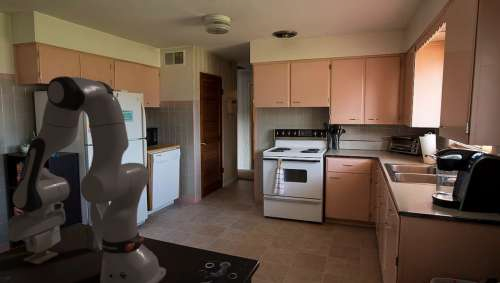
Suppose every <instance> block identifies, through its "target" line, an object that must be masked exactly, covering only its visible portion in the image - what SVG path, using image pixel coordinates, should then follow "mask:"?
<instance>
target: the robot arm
mask: <svg viewBox="0 0 500 283" xmlns="http://www.w3.org/2000/svg"><path fill="white" fill-rule="evenodd" d="M46 96H47V101H46V103H45V107H44V111H43V115H42V123H41V128H40V130H39V132H38V134H37V136H36V137H35V138H34V139H33V140H32V141H31V142H30V144H29V146H28V148H27V151H26V154H25V158H24V161H23V162H24V163H23V165H22V168H21V172H20V176H19V179H18V182H17V185H16V186H15V189H14V190H13V193H12V197H11V200H12V204H13V206H14V207H15V208H16V209H18V211H21V212H22V213H19V214H16V215H13V216H11V217H10V218H9V219H8V220H7V239H8V240H9V241H10V242H14V243H16V242H19V241H21V240H22V241H23V242H24V243H25V247H26V249H27V248H30V247H32V246H33V242H30V241H29V239H30V236H32V235H35V234H38V233H40V232H43V231H46V230H49V231H51V232H52V234H53V232H54V230H55V228H54V227H56V226H59V227H60V226H61V225H64V224H65V223H66V212H65V209H64V203H63V202H62V201H64V200H66V199H68V198H69V197H70V195H71V184H70V182H69V181H68V180H67V178H65V177H62V176H58V175H55V174H53V173H51V172H50V170H48V168H47V167H44V166H45V163H46V162H47V161H48V159H49V158H50V157H52V156H53V155H55V154H56V153H58V152H60V151H62V150H64V149H66V148H67V147H70V146H71V145H72V144H73V143H74V142H75V141H76V139H77V137H78V134H79V132H78V131H79V125H80V124H79V123H80V116H81V113H83V112H84V113H85V114H86V116H87V119H88V120H87V121H88V126H89V131H90V137H91V144H92V159H91V163H90V166H89V168H88V171H87V173H86V175H85V176H83V178H82V180H81V182H80V188H79V189H80V194H81V196H82V197H83V198H84V200H85V201H86V202H88V203H89V204H90V203H92V204H98V203H106V202H109V207H108V208H107V210H106V211H105V212H104V214H103V217H102V227H103V238H102V250H101V251H102V252H103V254H102V261H101V271H100V276H99V281H100V282H99V283H159V282H160V281H162V280H163V278H164V277H165V276H166V274H167V269H166V268H165V267H162V266H160V264H159V260H158V257H157V256H156V255H155V254H154V252H153V251H152V250H149V248H147V247H146V246H145V245H144V244H143V241H144V240H145V237H144V236H142V237H141V236H140V233H139V232H138V211H139V210H138V208H139V204H140V201H141V198H142V197H141V196H142V194H143V192H144V190H145V189H146V188H145V187H147V185H148V183H149V181H150V172H149V170H148V169H149V168H148V167H146V165H144V164H142V163H140V162H126V163H122V162H123V161H122V160H123V156H124V154H125V152H126V151H127V149H128V148H129V146H130V145H129V143H130V142H129V137H128V132H127V127H126V125H127V124H126V122H125V116H124V113H123V110H122V107H121V104H120V101H119V99H118V98H117V96H115V95H114V91H113V88H112V87H111V86H110V85H109V84H108V83H105V82H103V81H100V80H93V79H88V78H85V77H74V76H73V77H69V76H65V75H63V76H56V77H54V78H52V79H51V80H50V81H49V82H48V85H47V88H46Z"/></svg>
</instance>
